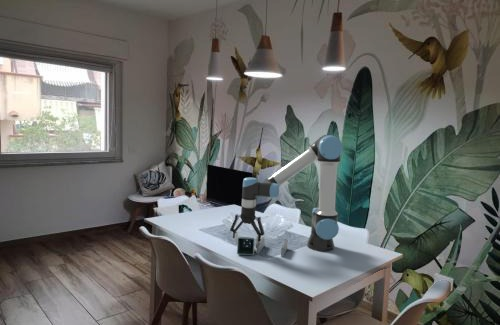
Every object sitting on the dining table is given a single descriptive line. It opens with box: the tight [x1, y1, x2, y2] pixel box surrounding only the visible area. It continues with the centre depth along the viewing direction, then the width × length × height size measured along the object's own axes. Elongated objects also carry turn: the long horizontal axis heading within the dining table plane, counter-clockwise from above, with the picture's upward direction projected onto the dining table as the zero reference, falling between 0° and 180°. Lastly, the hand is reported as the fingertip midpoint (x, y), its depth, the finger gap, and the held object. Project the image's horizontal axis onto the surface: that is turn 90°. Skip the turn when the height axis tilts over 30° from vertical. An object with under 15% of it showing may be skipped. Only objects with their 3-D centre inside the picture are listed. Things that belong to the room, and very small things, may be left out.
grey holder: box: [255, 236, 288, 258], centre depth 196 cm, size 14×14×5 cm
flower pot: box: [236, 236, 256, 256], centre depth 192 cm, size 9×9×9 cm
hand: (246, 245), depth 195 cm, fingers open, 11 cm apart
